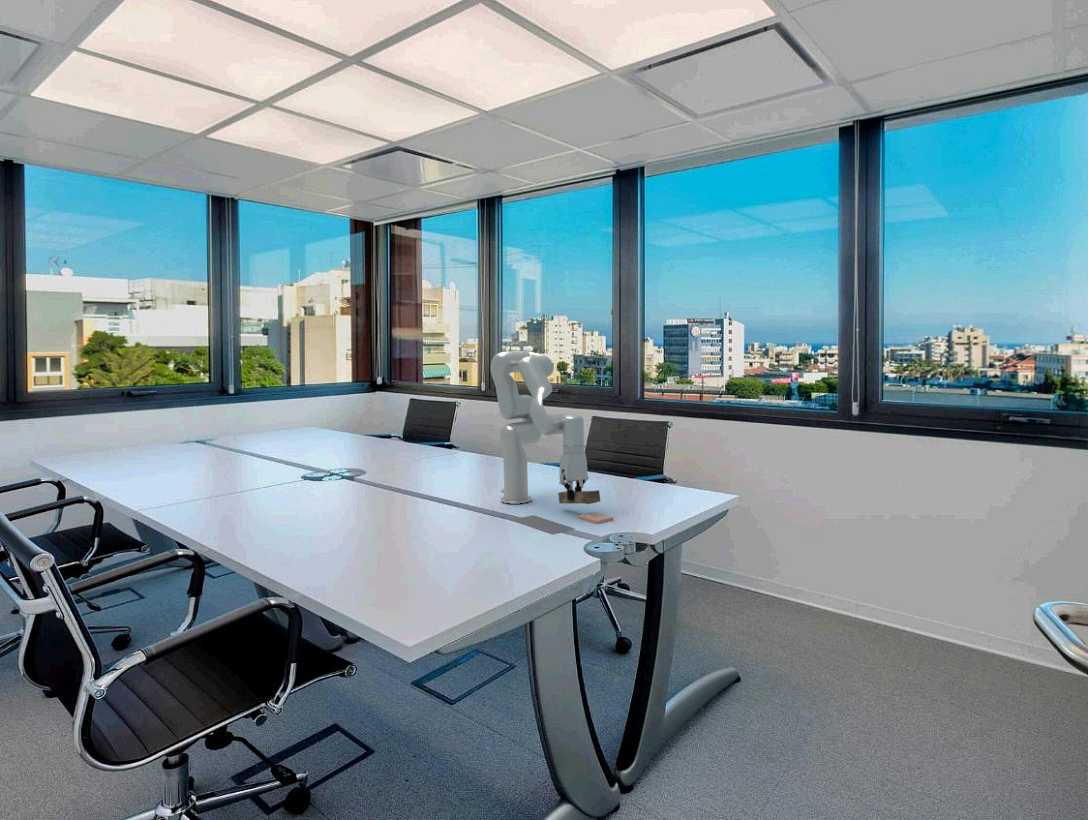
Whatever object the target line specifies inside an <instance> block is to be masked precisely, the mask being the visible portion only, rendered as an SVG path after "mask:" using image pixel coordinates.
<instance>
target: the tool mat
mask: <svg viewBox="0 0 1088 820" xmlns="http://www.w3.org/2000/svg"><path fill="white" fill-rule="evenodd" d="M511 521H512V522H515V523H518V524H521V525H524V526H526V527H530V528H532V529H535V530H538V531H541V532H544V533H547V534H550V535H558V534H561V533H566V532H570V531H574V530H576V528H574V527H572V526H568V525H566V524H562V523H560V522H555V521H552V520H549V519H546V518H543V517H541V516H538V515H534V514H532V515H528V516H523V517H519V518H513V519H511Z"/></svg>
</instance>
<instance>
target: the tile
mask: <svg viewBox="0 0 1088 820" xmlns="http://www.w3.org/2000/svg"><path fill="white" fill-rule="evenodd" d="M577 519H578V520H581V521H585V522H587V523H591V524H595V525H599V524H602V523H607V522H609V523H613V522H612V521H614V516H611V515H608V514H603V513H600V512H597V511H592V512H591V511H590V512H587V513H583V514H579V515H577Z"/></svg>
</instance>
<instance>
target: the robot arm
mask: <svg viewBox="0 0 1088 820" xmlns="http://www.w3.org/2000/svg"><path fill="white" fill-rule="evenodd" d="M553 372H554V363H553V362H552V359H550V357H548V356H546V355H543V354H539V353H536V352H534V351H533V352H532V351H527V350H519V351H518V350H513V351H512V350H508V351H502V352H499V353H496V354H495V355H494V356H493V357H492V359H491V362H490V374H491V378H492V379H493V383H494V386H495V391H496V397H497V401H498V408H499V413H500V415H501V418H503V419H504V420H508V421H510V420H511V421H512V420H519V419H521V421H518V422H510V423H506V424H505V425H504V426H502V428H501V430H500V431H499V435H500V437H499V439H500V443H501V447H502V456H503V457H502V458H503V460H502V461H503V486H504V488H503V489H501V490H500V492H501V494H503V496H501V497H500V503H503V502H504V504H506V503H510V504H509V505H521V504H520V503H523V504H527V503H526V502H528V503H530V502H532V501H531V500H533V497H532V496H531V495H529V486H528V485H529V479H528V478H529V477H528V455H527V453H526V451H525V450H524V448H523V446H528V445H533V444H537V443H538V442H539V441H540V439H541V437H542V435H543V436H554V435H561V434H562V441H563V443H562V444H563V445H562V446H563V447H562V450H563V451H562V453H561V456H560V459H559V460H560V461H559V473H558V474H559V477H558V478H559V485H561V486H563V487H564V488H565V490H566V492H567V499H568V500H571V501H574V491H583V488H584V486H585V485H584V484H585V483H586V482H587V481H588V480H589V475H588V463H587V462H588V461H587V456H586V452H585V449H586V445H585V432H584V431H585V428H584V425H585V424H584V421H585V420H584V417H583V416H582V415H578V414H575V415H574V414H569V413H564V412H562V413H553V414H548V413H547V411H546V409H545V407H544V404H543V403H544V399H546V398H547V397H548V396H550V394H551V393H552V392H553V385H552V383H551V382H550V380H549V377H551V375H553ZM511 373H519V374H520V375H521V377H522V379H523V382H524V383H525V386H526V388H527V390H528V391H529V393H530V395H528V394H520V393H519V390H518V385H517V382H516V380H515V378H514V377H513V376H512V375H511ZM574 482H575V486H573V485H574ZM573 487H574V489H573ZM529 501H530V502H529Z"/></svg>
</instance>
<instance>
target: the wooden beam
mask: <svg viewBox="0 0 1088 820" xmlns="http://www.w3.org/2000/svg"><path fill="white" fill-rule="evenodd" d="M557 495H558V501H559V504H564V505H565V504H567V505H568V504H576V505H577V504H583V505H584V504H586V505H590V504H594V503H595V504H596V503H599V502H601V496H600V495H601V494H600V489H599V490H582V491H575V490H574V501H571V500H568V499H567V491H560V492H558V493H557Z"/></svg>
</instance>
